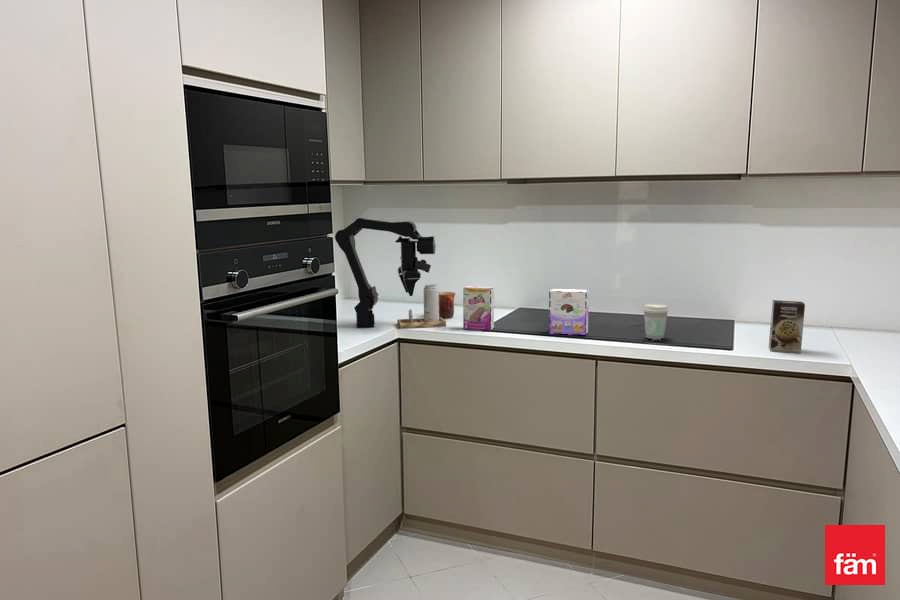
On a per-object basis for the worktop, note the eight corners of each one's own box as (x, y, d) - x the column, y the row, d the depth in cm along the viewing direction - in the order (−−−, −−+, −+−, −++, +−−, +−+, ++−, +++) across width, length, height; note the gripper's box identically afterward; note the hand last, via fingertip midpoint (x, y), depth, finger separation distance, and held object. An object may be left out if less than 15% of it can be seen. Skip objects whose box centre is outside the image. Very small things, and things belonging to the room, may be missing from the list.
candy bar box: (462, 329, 253) (462, 287, 250) (466, 327, 257) (466, 285, 255) (491, 331, 249) (491, 288, 247) (494, 328, 254) (494, 286, 251)
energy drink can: (422, 321, 264) (421, 284, 262) (436, 320, 266) (435, 283, 264) (426, 324, 259) (426, 286, 256) (441, 323, 261) (440, 285, 258)
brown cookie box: (770, 351, 215) (773, 302, 212) (768, 347, 221) (771, 299, 218) (801, 353, 211) (805, 304, 209) (798, 349, 217) (802, 300, 215)
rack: (400, 328, 255) (400, 323, 255) (397, 324, 264) (397, 319, 264) (446, 326, 259) (446, 321, 259) (441, 322, 268) (441, 317, 268)
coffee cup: (639, 336, 239) (640, 303, 237) (663, 336, 238) (664, 303, 236) (645, 341, 230) (646, 307, 228) (670, 341, 230) (671, 307, 228)
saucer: (410, 324, 258) (410, 310, 257) (408, 322, 263) (408, 308, 262) (412, 324, 258) (412, 310, 257) (410, 322, 263) (410, 308, 263)
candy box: (588, 333, 245) (589, 289, 242) (585, 336, 239) (587, 291, 237) (551, 331, 249) (552, 287, 247) (548, 334, 244) (548, 290, 241)
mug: (432, 316, 281) (431, 292, 279) (451, 314, 284) (450, 291, 282) (442, 321, 270) (441, 296, 268) (461, 319, 273) (461, 295, 271)
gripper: (433, 255, 247) (434, 296, 249) (424, 251, 265) (425, 290, 267) (404, 256, 245) (404, 298, 247) (397, 252, 263) (398, 291, 265)
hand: (409, 294), depth 257 cm, fingers open, 9 cm apart
